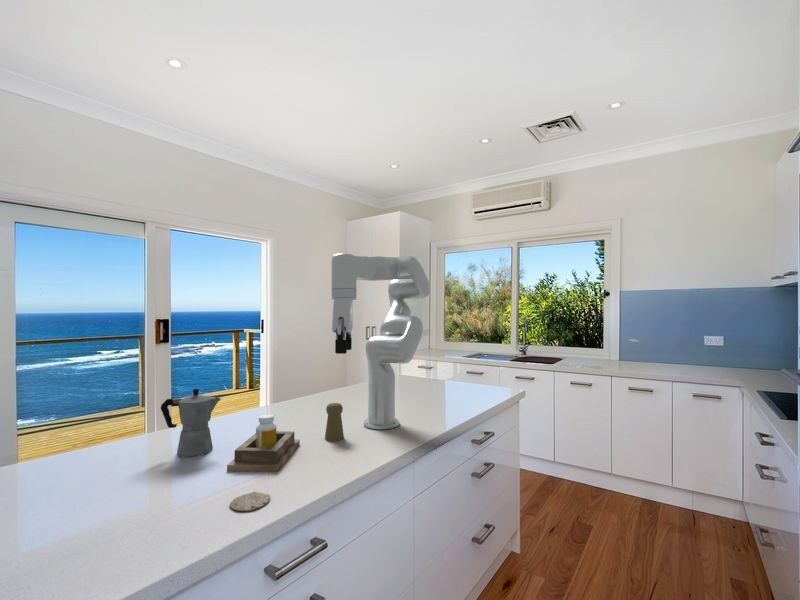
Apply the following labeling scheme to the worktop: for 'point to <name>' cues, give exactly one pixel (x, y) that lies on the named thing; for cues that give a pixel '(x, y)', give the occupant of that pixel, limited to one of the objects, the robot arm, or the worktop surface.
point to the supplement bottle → (266, 432)
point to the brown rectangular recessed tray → (264, 454)
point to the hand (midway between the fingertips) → (343, 351)
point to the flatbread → (250, 501)
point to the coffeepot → (192, 422)
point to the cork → (334, 422)
